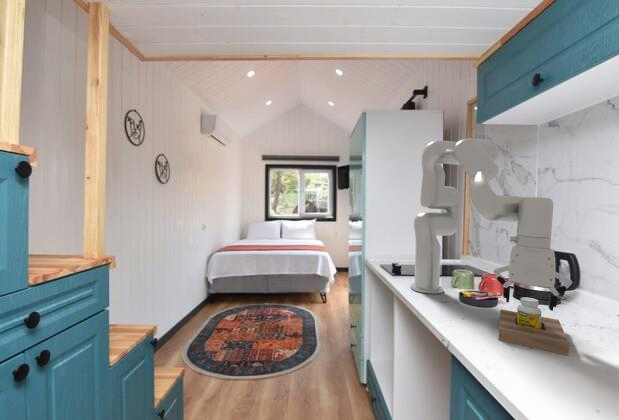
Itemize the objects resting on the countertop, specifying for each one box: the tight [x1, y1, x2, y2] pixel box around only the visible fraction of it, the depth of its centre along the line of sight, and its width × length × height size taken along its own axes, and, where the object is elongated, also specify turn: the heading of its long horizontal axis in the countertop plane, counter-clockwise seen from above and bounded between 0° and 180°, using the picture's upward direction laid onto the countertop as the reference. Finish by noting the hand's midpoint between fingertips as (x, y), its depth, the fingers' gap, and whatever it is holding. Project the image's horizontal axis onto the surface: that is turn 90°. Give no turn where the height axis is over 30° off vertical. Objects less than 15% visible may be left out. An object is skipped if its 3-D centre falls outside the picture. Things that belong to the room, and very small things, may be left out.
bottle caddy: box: [498, 309, 570, 356], centre depth 83 cm, size 18×14×3 cm
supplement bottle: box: [516, 296, 542, 330], centre depth 84 cm, size 5×5×10 cm
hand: (528, 305), depth 84 cm, fingers open, 9 cm apart
